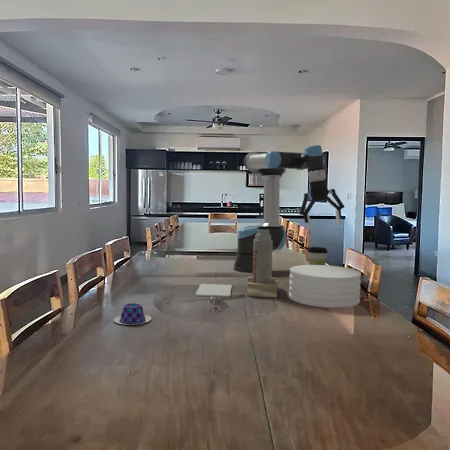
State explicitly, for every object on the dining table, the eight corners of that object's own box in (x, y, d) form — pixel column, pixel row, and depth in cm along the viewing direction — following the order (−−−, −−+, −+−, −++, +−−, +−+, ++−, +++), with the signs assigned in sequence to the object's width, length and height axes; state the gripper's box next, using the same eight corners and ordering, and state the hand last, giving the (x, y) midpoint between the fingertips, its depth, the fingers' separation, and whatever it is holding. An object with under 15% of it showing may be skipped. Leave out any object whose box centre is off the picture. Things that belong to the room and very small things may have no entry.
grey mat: (200, 285, 191) (200, 283, 191) (231, 286, 191) (231, 284, 191) (195, 295, 172) (195, 294, 172) (229, 297, 171) (229, 295, 171)
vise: (247, 288, 188) (247, 276, 187) (281, 289, 187) (281, 278, 187) (247, 296, 173) (247, 284, 173) (283, 297, 172) (284, 285, 172)
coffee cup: (326, 280, 210) (328, 249, 209) (306, 278, 212) (307, 248, 210) (326, 276, 219) (327, 247, 218) (306, 275, 221) (307, 246, 220)
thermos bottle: (253, 294, 176) (255, 227, 174) (250, 290, 184) (252, 225, 182) (272, 294, 176) (274, 227, 174) (269, 290, 184) (271, 226, 182)
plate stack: (360, 294, 182) (361, 268, 181) (358, 311, 155) (360, 280, 154) (295, 288, 191) (296, 263, 190) (282, 303, 164) (283, 273, 163)
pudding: (132, 329, 129) (132, 312, 129) (105, 322, 136) (105, 306, 135) (159, 320, 139) (159, 304, 139) (132, 313, 146) (132, 298, 145)
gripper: (292, 184, 185) (299, 232, 187) (347, 175, 187) (354, 223, 189) (288, 185, 193) (295, 230, 195) (341, 176, 195) (347, 221, 196)
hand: (324, 227), depth 192 cm, fingers open, 13 cm apart
